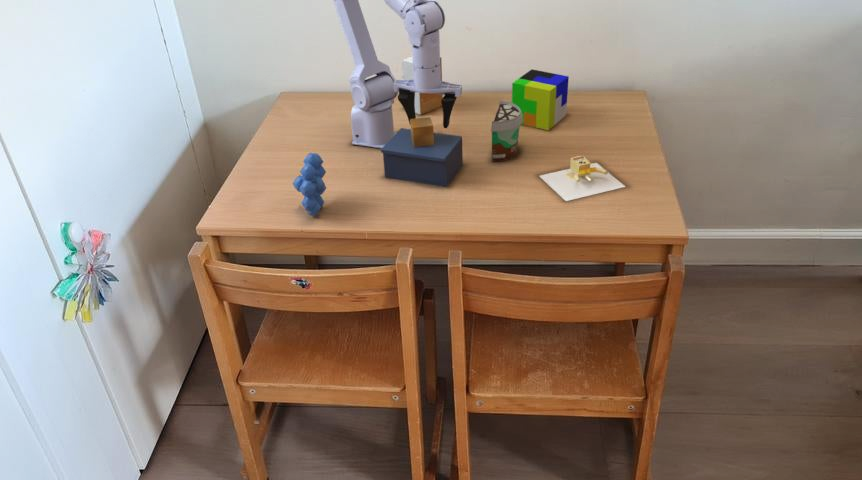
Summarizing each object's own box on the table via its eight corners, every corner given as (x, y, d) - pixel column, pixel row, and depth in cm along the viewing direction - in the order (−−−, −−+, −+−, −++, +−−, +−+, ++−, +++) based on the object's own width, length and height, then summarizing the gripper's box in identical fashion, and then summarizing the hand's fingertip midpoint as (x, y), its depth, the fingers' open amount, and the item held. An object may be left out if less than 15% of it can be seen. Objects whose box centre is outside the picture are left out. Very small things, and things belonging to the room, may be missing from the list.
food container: (518, 165, 170) (519, 124, 164) (491, 164, 171) (491, 122, 165) (524, 141, 180) (526, 101, 174) (499, 139, 181) (499, 99, 175)
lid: (444, 162, 159) (444, 158, 159) (381, 152, 163) (380, 149, 163) (462, 139, 167) (462, 136, 167) (401, 131, 172) (401, 128, 171)
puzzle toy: (566, 115, 191) (568, 76, 185) (548, 130, 184) (550, 90, 178) (530, 107, 195) (531, 69, 189) (511, 121, 188) (512, 83, 182)
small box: (420, 115, 193) (418, 65, 185) (404, 108, 197) (400, 59, 189) (443, 106, 197) (442, 56, 190) (427, 99, 201) (424, 50, 193)
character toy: (579, 174, 158) (560, 158, 164) (578, 188, 160) (560, 172, 166) (612, 166, 160) (593, 151, 166) (611, 180, 162) (592, 164, 168)
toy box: (447, 187, 163) (446, 160, 160) (384, 177, 168) (382, 151, 164) (462, 165, 171) (462, 140, 167) (403, 156, 175) (401, 131, 172)
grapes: (303, 194, 163) (295, 143, 156) (334, 195, 162) (327, 143, 155) (289, 223, 154) (279, 170, 146) (322, 224, 153) (314, 171, 146)
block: (413, 147, 163) (412, 127, 160) (411, 138, 167) (410, 119, 164) (434, 145, 164) (433, 125, 161) (431, 136, 167) (430, 116, 164)
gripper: (465, 59, 159) (466, 119, 168) (399, 54, 163) (403, 114, 171) (456, 71, 154) (458, 133, 162) (388, 66, 157) (393, 127, 165)
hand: (429, 124), depth 166 cm, fingers open, 7 cm apart
